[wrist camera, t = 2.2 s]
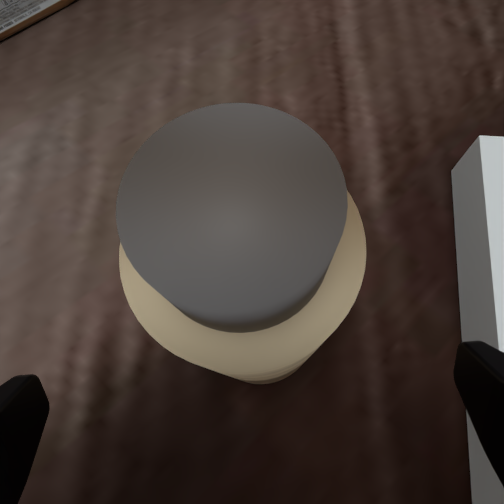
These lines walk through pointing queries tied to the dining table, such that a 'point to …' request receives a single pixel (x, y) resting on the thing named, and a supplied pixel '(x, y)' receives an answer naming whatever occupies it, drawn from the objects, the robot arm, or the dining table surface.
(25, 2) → the tin
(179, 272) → the pepper mill
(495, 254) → the white square frame
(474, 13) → the dining table surface
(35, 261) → the dining table surface
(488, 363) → the robot arm
